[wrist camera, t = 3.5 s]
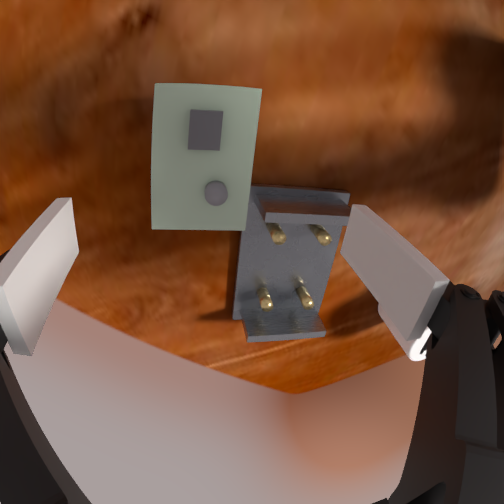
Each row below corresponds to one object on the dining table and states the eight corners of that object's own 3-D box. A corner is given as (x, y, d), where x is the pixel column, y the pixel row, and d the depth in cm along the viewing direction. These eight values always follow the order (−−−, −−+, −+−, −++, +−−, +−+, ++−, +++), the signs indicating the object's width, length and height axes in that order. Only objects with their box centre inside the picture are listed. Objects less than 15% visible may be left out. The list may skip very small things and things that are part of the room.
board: (158, 83, 22) (153, 83, 19) (256, 88, 23) (265, 89, 20) (154, 217, 28) (150, 234, 25) (241, 219, 29) (247, 236, 26)
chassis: (245, 183, 33) (256, 203, 28) (346, 190, 35) (371, 211, 30) (231, 314, 41) (238, 347, 36) (315, 311, 44) (329, 340, 39)
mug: (399, 365, 39) (438, 299, 33) (370, 319, 48) (397, 256, 42) (437, 357, 41) (473, 295, 35) (406, 316, 50) (434, 257, 44)
